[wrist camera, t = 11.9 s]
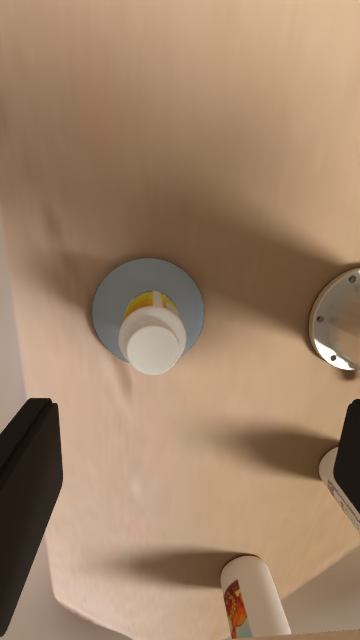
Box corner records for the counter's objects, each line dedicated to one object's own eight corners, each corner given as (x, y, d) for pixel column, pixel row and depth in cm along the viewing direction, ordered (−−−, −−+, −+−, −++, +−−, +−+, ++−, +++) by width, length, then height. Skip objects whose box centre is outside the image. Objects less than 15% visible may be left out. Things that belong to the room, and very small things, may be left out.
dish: (218, 334, 33) (221, 337, 32) (127, 378, 34) (126, 383, 33) (174, 238, 30) (175, 237, 29) (73, 288, 30) (69, 290, 29)
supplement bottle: (120, 332, 31) (106, 376, 21) (132, 283, 30) (123, 306, 20) (170, 344, 32) (178, 391, 22) (184, 297, 31) (199, 325, 21)
